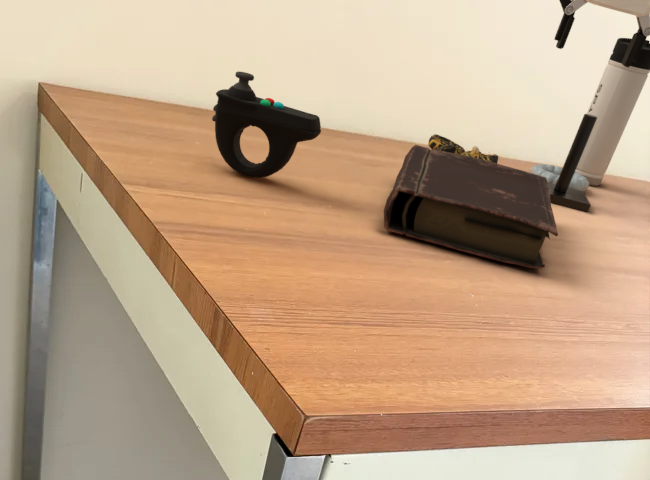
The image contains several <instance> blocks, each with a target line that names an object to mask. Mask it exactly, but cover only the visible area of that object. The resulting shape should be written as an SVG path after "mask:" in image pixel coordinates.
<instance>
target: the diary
mask: <svg viewBox="0 0 650 480" xmlns="http://www.w3.org/2000/svg"><path fill="white" fill-rule="evenodd" d="M383 227H384V229H385V231H387V232H391V233H395V234H398V235H399V234H400V235H402V236H403V235H405V236H406V237H410V238H413V239H417V240H420V241H424V242H428V243H430V244H431V243H432V244H435V245H437V246H438V245H439V246H442V247H445V248H450V249H453V250H457V251H459V252H464V253H467V254H471V255H475V256H479V257H481V258H485V259H490V260H492V261H497V262H501V263H505V264H511V265H516V266H520V267H526V268H529V269H543V268H545V267H546V264H544V263H543V260H542V255H541V252H540V251H541V249H542V247H543V244H544V241H545V240H546V238H547V239H549V240H550V239H551V237H550V234H551V235H553V236H555V237H558V236H559V232H558V227H557V223H556V219H555V216H554V211H553V207H552V203H551V200H550V190H549V186H548V182H547V179H546V177H543V176H539V175H535V174H532V173H531V172H528V171H525V170H523V169H518V168H515V167H512V166H507V165H503V164H500V163H498V162H497V163H493V162H489V161H486V160H482V159H478V158H473V157H468V156H464V155H459V154H454V153H450V152H445V151H439V150H434V149H431V148H430V147H426V146H423V145H418V144H414V145H413V146H412V147H411V148H410V149H409V150H408V152H407V153H406V155H405V156H404V159H403V163H402V166H401V168H400V169H399V172H398V174H397V176H396V177H395V181H394V184H393V187H392V190H391V191H390V193H389V195H388V197H387V199H386V202H385V205H384V209H383Z"/></svg>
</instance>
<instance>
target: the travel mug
mask: <svg viewBox="0 0 650 480" xmlns="http://www.w3.org/2000/svg"><path fill="white" fill-rule="evenodd" d="M631 39H632V38H629V37H618V38H617V40H616V42H615V44H614V47H613V49H612V53H611V54H610V57H609V58H608V60H607V64H606V66H605V68H604V70H603V73H602V75H601V78H600V80H599V82H598V84H597V87H596V90H595V92H594V94H593V97H592V100H591V102H590V104H589V107H588V110H587V112H586V114H590V115H593V116H596V117H597V120H596V122H595V125H594V127H593V130H592V132H591V134H590V137H589V139H588V142H587V144H586V146H585V149H584V151H583V154H582V156H581V158H580V161H579V163H578V166H577V168H576V170H575V172H576V173H578V174H580V175H582V176H584V177H586V179H587V180H588V182H589V186H593V187H597V186H600V185H601V184H602V181H603V180H604V177H605V174H606V172H607V170H608V168H609V166H610V164H611V161H612V159H613V156H614V154H615V152H616V150H617V148H618V145H619V143H620V140H621V138H622V136H623V134H624V132H625V128H626V127H627V124H628V122H629V120H630V117H631V115H632V113H633V111H634V109H635V107H636V104H637V102H638V100H639V97H640V96H641V93H642V90H643V89H644V86H645V84H646V81H647V79H648V77H649V74H650V40H648V39H646V40H645V42H644V45H643V47H642V49H641V51H640V54H639V56H638V58H637V60H636V61H635V62H634V61H632V62H631V65H630V67H629V68H628V67H625V66H623V65H622V60H623V58H624V55H625V53H626V51H627V48H628V46H629V44H630V41H631Z"/></svg>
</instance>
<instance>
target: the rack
mask: <svg viewBox="0 0 650 480" xmlns="http://www.w3.org/2000/svg"><path fill="white" fill-rule="evenodd" d="M596 120H597V117H596V116H593V115H590V114H587V113H584V114H583V117H582V119H581V121H580V124H579V126H578V128H577V131H576V134H575V136H574V139H573V142H572V144H571V146H570V149H569V151H568V154H567V156H566V159H565V160H564V164H563V166H562V167H561V168H562V171H561V173H560V175H559V178H558V180H557V183H556V184H553V183H549V182H548V186H549V190H550V200H551V204H556V205H559V206H562V207H566V208H570V209H574V210H578V211H582V212H586V213H588V212H589V211H590V208H591V206H592V205H591V203H590V201H589V198H588V197H587V195H586V193H585V191H579V190H576V189H572V188H568V187H569V185H570V182H571V180H572V178H573V175H574V173H575V170H576V168H577V166H578V163H579V161H580V158H581V156H582V154H583V151H584V149H585V146H586V144H587V142H588V139H589V137H590V134H591V132H592V130H593V127H594V125H595V122H596Z"/></svg>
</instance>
